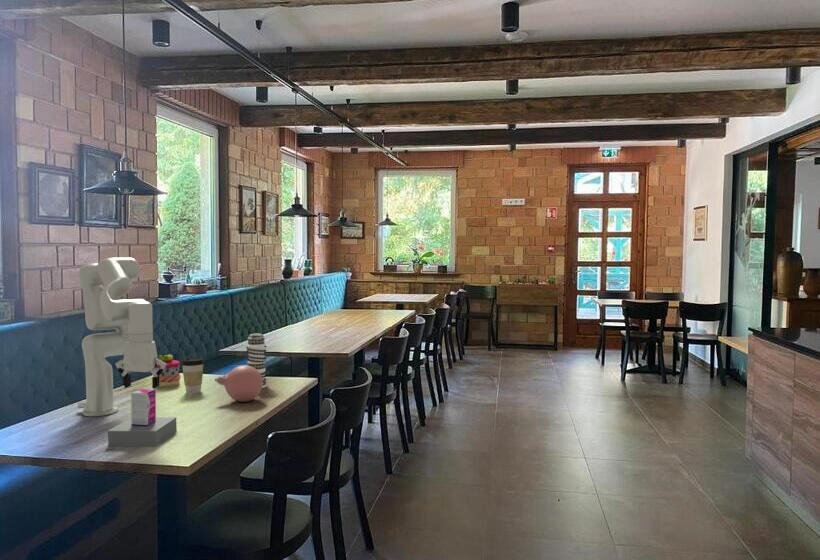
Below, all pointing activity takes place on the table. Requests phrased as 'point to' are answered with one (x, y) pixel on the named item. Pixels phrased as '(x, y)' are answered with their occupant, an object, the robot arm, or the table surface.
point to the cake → (169, 372)
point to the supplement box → (143, 407)
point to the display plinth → (142, 433)
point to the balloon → (242, 383)
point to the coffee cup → (193, 374)
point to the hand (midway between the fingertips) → (141, 387)
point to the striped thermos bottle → (257, 354)
